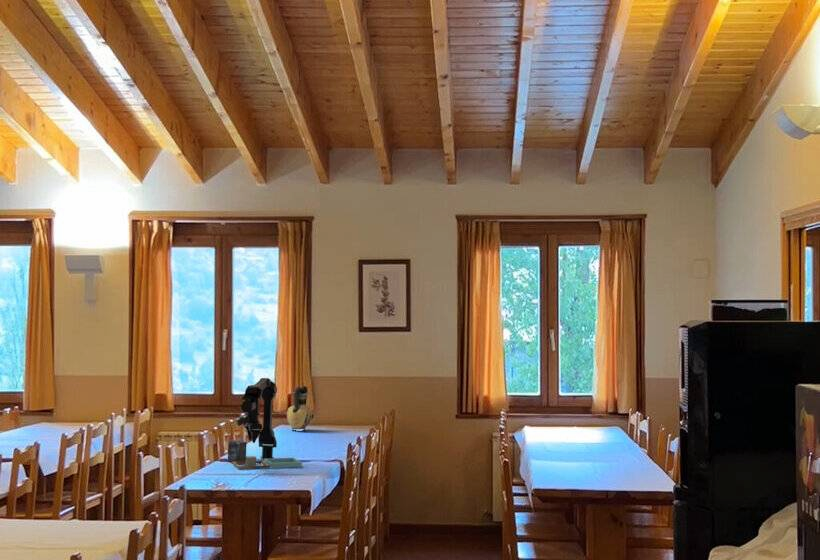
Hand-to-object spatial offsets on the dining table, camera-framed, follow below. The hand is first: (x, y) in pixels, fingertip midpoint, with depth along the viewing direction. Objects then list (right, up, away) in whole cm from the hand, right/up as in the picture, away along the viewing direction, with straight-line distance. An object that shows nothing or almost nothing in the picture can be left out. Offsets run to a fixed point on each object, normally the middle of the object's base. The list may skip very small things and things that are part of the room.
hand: (251, 441), depth 441 cm
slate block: (0, -13, -1) cm, 13 cm away
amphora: (+5, -20, +148) cm, 150 cm away
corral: (0, -13, -1) cm, 12 cm away
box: (-10, -13, +12) cm, 20 cm away
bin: (+15, -13, +6) cm, 21 cm away
